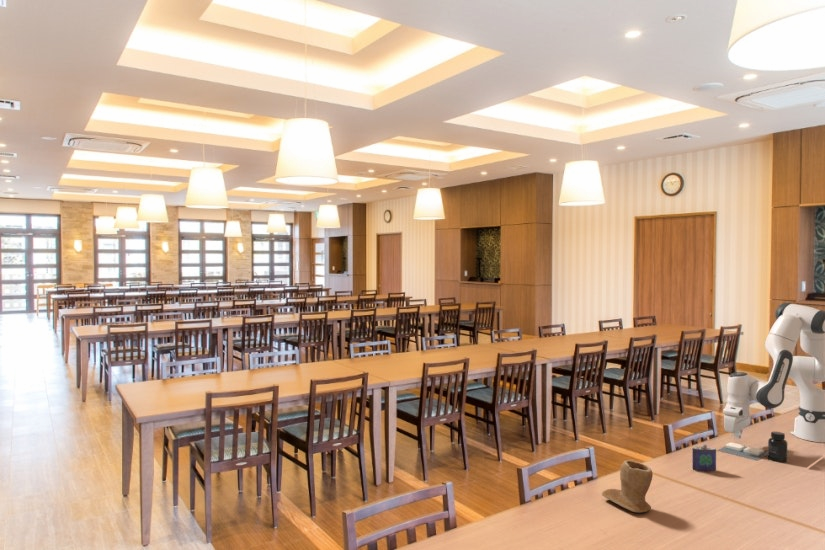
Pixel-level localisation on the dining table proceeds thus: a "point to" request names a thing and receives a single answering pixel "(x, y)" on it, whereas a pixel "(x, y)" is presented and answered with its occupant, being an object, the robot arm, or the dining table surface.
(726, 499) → the dining table surface
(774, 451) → the supplement bottle
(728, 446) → the tile
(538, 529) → the dining table surface
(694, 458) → the flask
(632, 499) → the brown boot
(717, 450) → the mat
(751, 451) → the tile
